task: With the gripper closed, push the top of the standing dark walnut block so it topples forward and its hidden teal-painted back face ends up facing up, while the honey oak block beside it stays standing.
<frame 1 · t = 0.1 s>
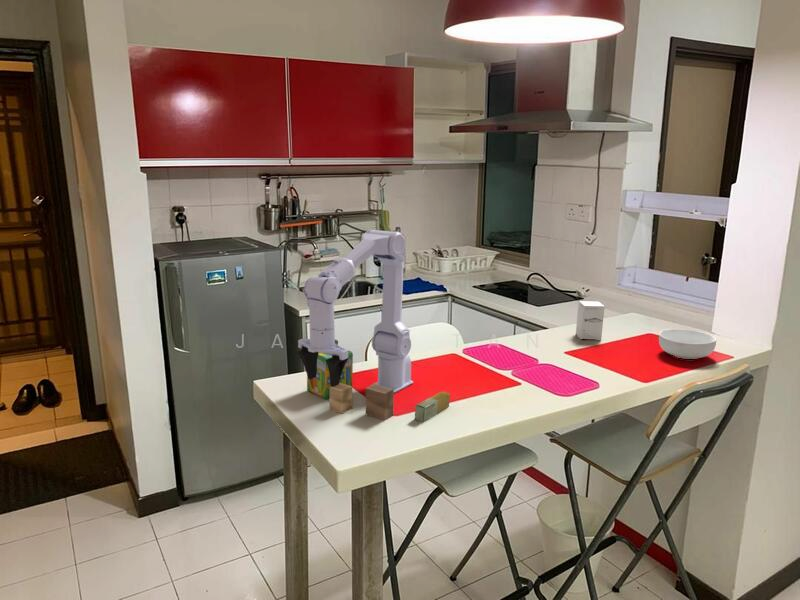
hand: (323, 381, 144), 10 cm above the counter, tool pointing down, fingers open, 7 cm apart
walnut block: (379, 415, 149), on the counter
supplement box: (588, 338, 214), on the counter
chalk box: (330, 392, 164), on the counter
cereal bowl: (684, 356, 195), on the counter
medication box: (432, 414, 151), on the counter
oak block: (341, 409, 153), on the counter
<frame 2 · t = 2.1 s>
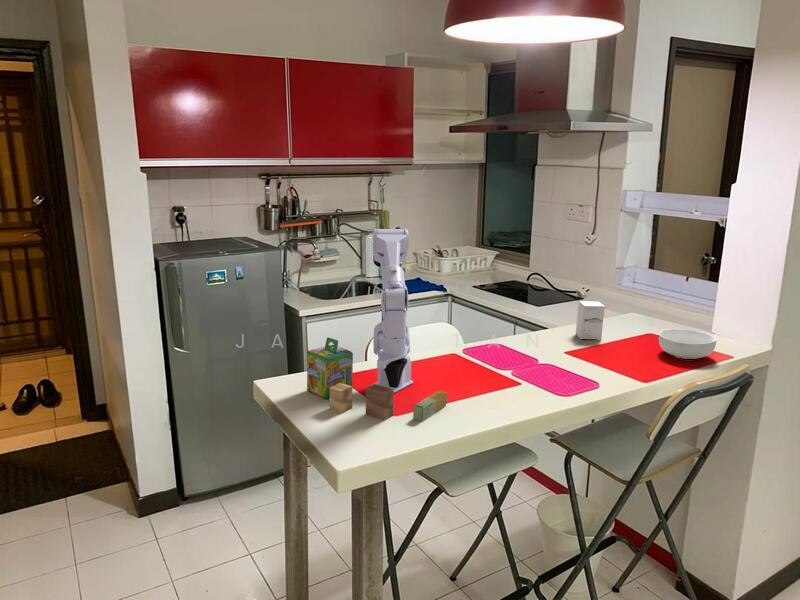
hand: (393, 386, 153), 6 cm above the counter, tool pointing down, fingers closed
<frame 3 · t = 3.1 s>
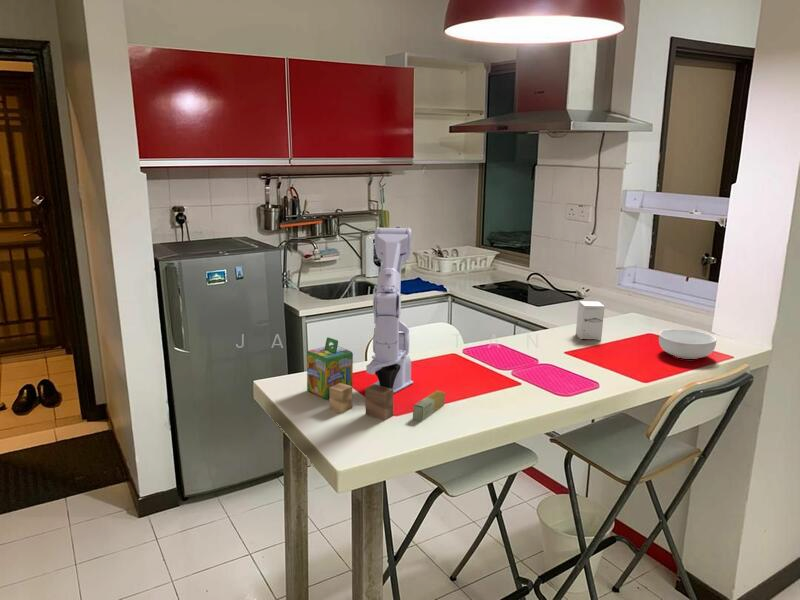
hand: (386, 392, 150), 5 cm above the counter, tool pointing down, fingers closed
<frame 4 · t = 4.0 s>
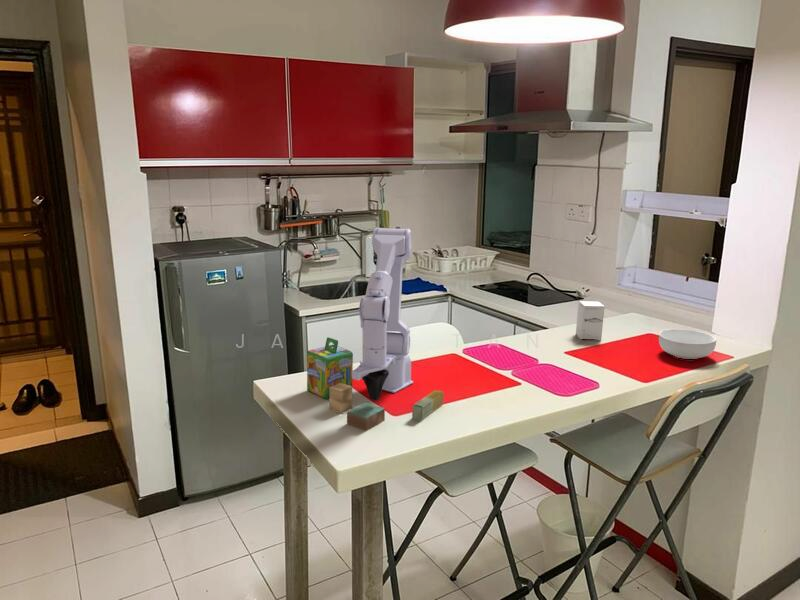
hand: (374, 399, 147), 5 cm above the counter, tool pointing down, fingers closed
walnut block: (374, 411, 148), point 1 cm above the counter, tilted 90°
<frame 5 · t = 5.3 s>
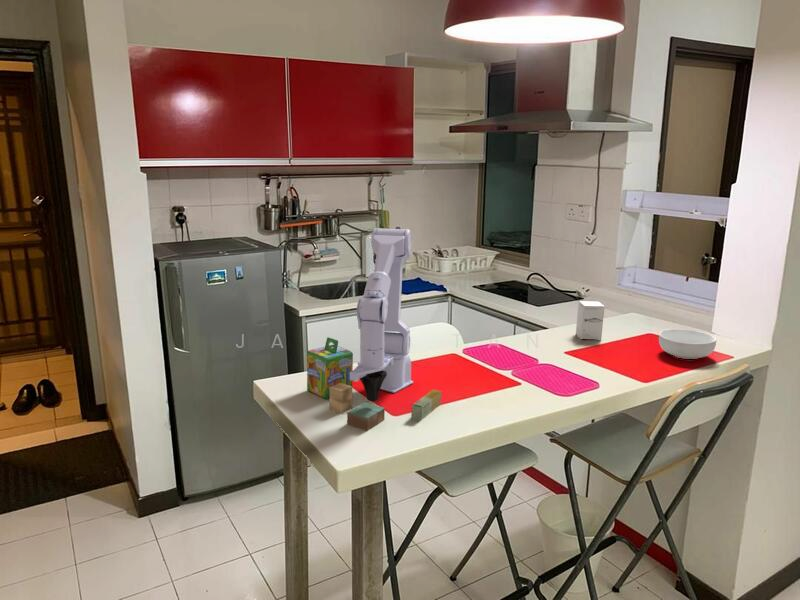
hand: (372, 400, 146), 5 cm above the counter, tool pointing down, fingers closed
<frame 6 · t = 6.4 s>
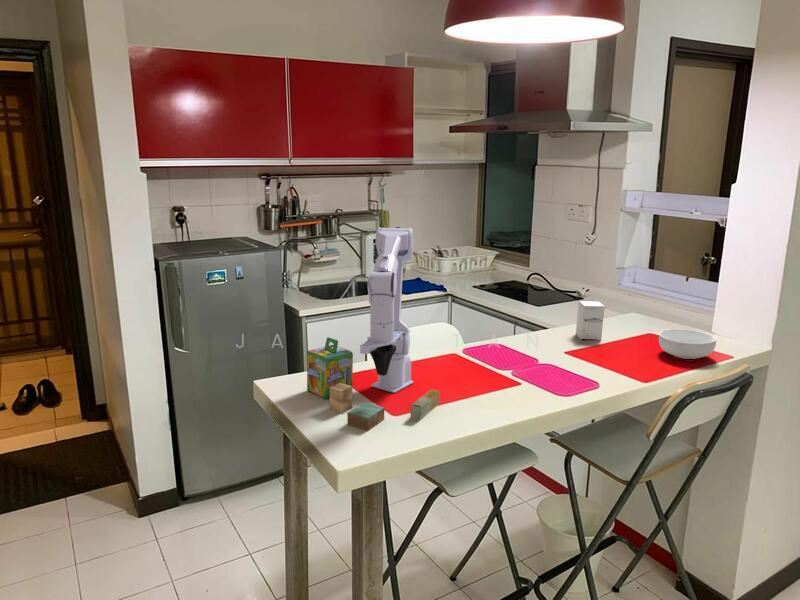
hand: (382, 374, 148), 10 cm above the counter, tool pointing down, fingers closed
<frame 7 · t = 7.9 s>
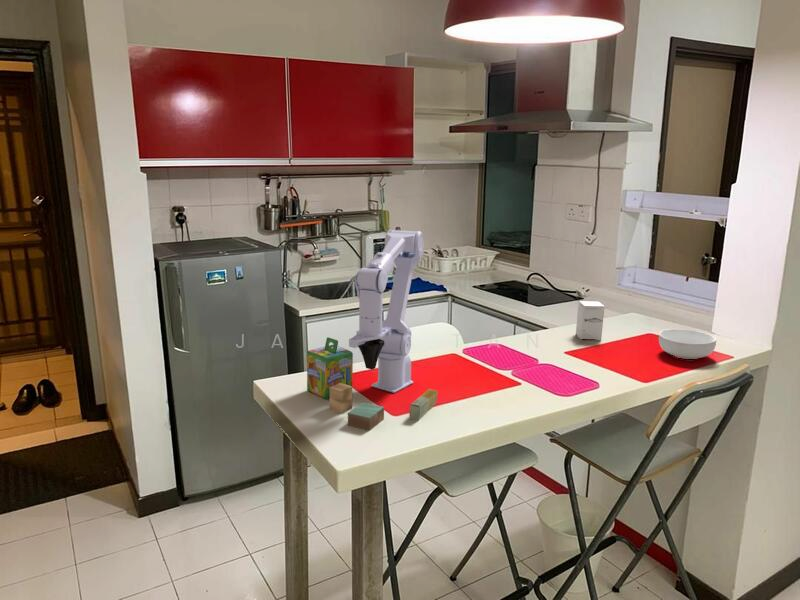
hand: (370, 368, 152), 10 cm above the counter, tool pointing down, fingers closed
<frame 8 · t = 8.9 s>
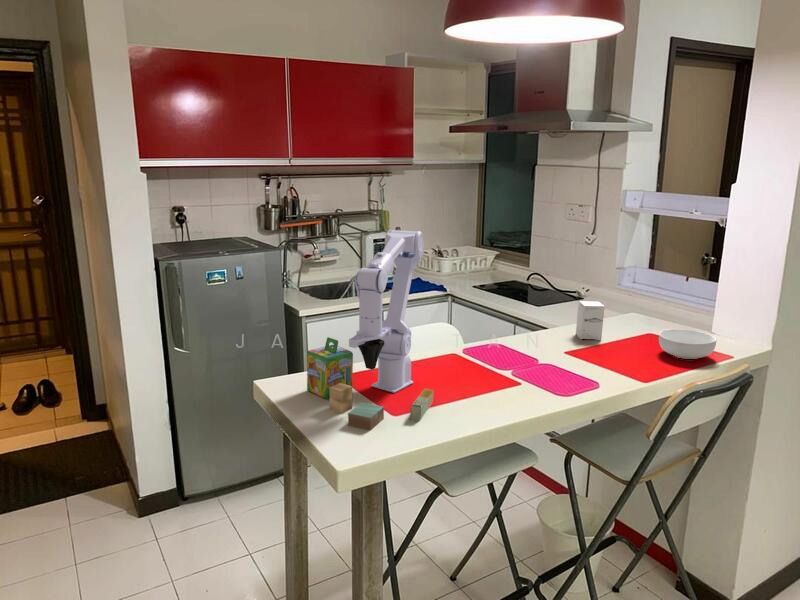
hand: (370, 368, 152), 10 cm above the counter, tool pointing down, fingers closed
at the end: walnut block tilted 90°; walnut block inside the target area (5.2 cm from its centre), point 1.4 cm above the counter; oak block tilted 0° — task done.
